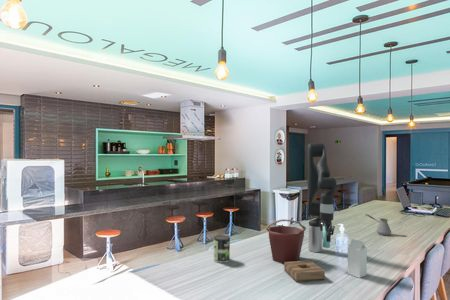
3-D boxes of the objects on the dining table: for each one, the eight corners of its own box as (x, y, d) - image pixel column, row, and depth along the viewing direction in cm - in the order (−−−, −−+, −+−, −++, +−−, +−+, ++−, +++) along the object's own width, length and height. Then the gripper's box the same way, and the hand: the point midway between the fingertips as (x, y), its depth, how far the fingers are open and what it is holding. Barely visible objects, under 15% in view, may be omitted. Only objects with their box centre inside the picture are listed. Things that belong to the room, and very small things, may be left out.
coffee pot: (393, 234, 259) (393, 216, 259) (388, 237, 251) (388, 218, 251) (367, 229, 275) (368, 213, 275) (362, 231, 267) (362, 214, 267)
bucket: (306, 256, 201) (307, 218, 201) (303, 268, 180) (303, 225, 180) (269, 252, 209) (270, 215, 209) (262, 262, 188) (262, 221, 189)
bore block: (284, 270, 175) (284, 262, 175) (310, 269, 178) (310, 260, 178) (296, 282, 160) (296, 272, 160) (324, 280, 163) (324, 270, 163)
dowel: (321, 245, 182) (321, 225, 182) (327, 245, 183) (327, 225, 183) (325, 248, 178) (325, 227, 178) (331, 247, 179) (331, 227, 179)
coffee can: (232, 259, 194) (233, 236, 194) (224, 263, 185) (224, 240, 186) (219, 256, 200) (219, 234, 200) (210, 260, 191) (210, 237, 191)
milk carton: (359, 278, 166) (359, 242, 166) (347, 274, 172) (347, 239, 172) (366, 275, 170) (366, 240, 170) (354, 271, 176) (354, 237, 176)
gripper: (314, 209, 187) (314, 237, 187) (327, 214, 173) (327, 244, 173) (326, 208, 188) (326, 236, 188) (339, 213, 174) (339, 243, 174)
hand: (326, 240), depth 181 cm, fingers closed on dowel, 4 cm apart
